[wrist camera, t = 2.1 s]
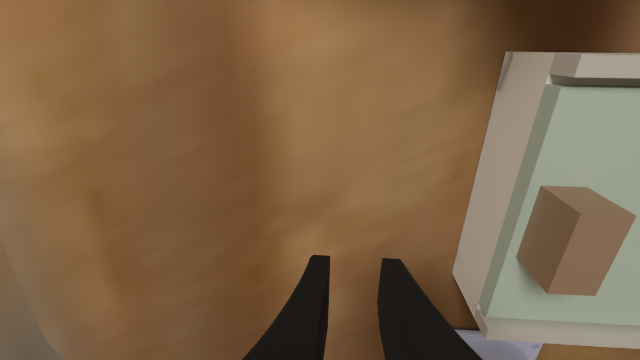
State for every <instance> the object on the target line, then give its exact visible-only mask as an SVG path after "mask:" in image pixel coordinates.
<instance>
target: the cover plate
mask: <svg viewBox="0 0 640 360" xmlns="http://www.w3.org/2000/svg"><path fill="white" fill-rule="evenodd" d="M479 305H480V307H481V309H482V311H483V313H484V314H485V316H486V317H492V318H510V319H528V320H545V321H563V322H581V323H599V324H616V325H634V326H640V85H582V84H546V85H545V88H544V91H543V94H542V98H541V101H540V104H539V107H538V111H537V114H536V117H535V121H534V124H533V127H532V130H531V134H530V137H529V140H528V143H527V147H526V150H525V153H524V156H523V160H522V163H521V166H520V170H519V173H518V176H517V179H516V183H515V186H514V189H513V192H512V196H511V199H510V202H509V205H508V209H507V212H506V215H505V219H504V222H503V225H502V228H501V232H500V235H499V238H498V241H497V245H496V248H495V251H494V254H493V258H492V261H491V264H490V268H489V271H488V274H487V277H486V281H485V284H484V287H483V290H482V294H481V297H480V300H479Z"/></svg>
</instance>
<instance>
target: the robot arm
mask: <svg viewBox="0 0 640 360" xmlns="http://www.w3.org/2000/svg"><path fill="white" fill-rule="evenodd" d="M329 276H330V256H324V255H313V256H311V257H310V259H309V262H308V265H307V267H306V269H305V271H304V274H303V275H302V277H301V279H300V281H299V283H298V285H297V286H296V288H295V290H294V292H293V293H292V295H291V297H290V298H289V300H288V301H287V303H286V304H285V306H284V307H283V309H282V310H281V312H280V313H279V315H278V316H277V318H276V319H275V320H274V322H273V323H272V324H271V326H270V327H269V328H268V330H267V331H266V332H265V333H264V335H263V336H262V337H261V338H260V340H259V341H258V342H257V343H256V344H255V346H254V347H253V348H252V349H251V350H250V351H249V352H248V354H247V355H246V356H245V357H244V358H243V359H242V360H323V358H324V350H325V343H326V335H327V328H328V307H329ZM377 305H378V317H379V327H380V333H381V339H382V344H383V349H384V354H385V359H386V360H536V357H537V355H538V353H539V351H540V349H541V347H542V344H543V343H533V342H516V341H499V340H485V339H484V337H483V335H482V333H481V331H474V330H457V329H453V328H452V326H451V325H450V324H449V323H448V322H447V321H446V320H445V318H444V317H443V316H442V315H441V314H440V312H439V311H438V310H437V309H436V307H435V306H434V305H433V304H432V302H431V301H430V300H429V299H428V297H427V296H426V295H425V293H424V292H423V291H422V289H421V288H420V287H419V285H418V284H417V283H416V281H415V280H414V278H413V277H412V276H411V274H410V273H409V271H408V270H407V268H406V267H405V265H404V264H403V262H402V261H401V260H400V259H387V258H382V265H381V273H380V282H379V290H378V299H377Z"/></svg>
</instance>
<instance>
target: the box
mask: <svg viewBox="0 0 640 360" xmlns="http://www.w3.org/2000/svg"><path fill="white" fill-rule="evenodd" d="M546 84H582V85H640V53H592V52H506V53H505V57H504V61H503V65H502V69H501V74H500V78H499V82H498V86H497V90H496V94H495V98H494V102H493V106H492V111H491V115H490V119H489V123H488V127H487V131H486V135H485V139H484V143H483V148H482V152H481V156H480V160H479V164H478V168H477V172H476V176H475V180H474V185H473V189H472V193H471V197H470V201H469V205H468V209H467V213H466V217H465V222H464V226H463V230H462V234H461V238H460V242H459V246H458V250H457V254H456V259H455V263H454V267H453V271H452V274H453V276H454V278H455V280H456V282H457V284H458V286H459V288H460V290H461V292H462V294H463V296H464V298H465V300H466V302H467V304H468V306H469V308H470V310H471V312H472V315H473V317H474V319H475V321H476V323H477V325H478V327H479V329H480V331H481V333H482V335H483V337H484V339H485V340H499V341H516V342H533V343H549V344H566V345H582V346H599V347H616V348H632V349H640V326H634V325H616V324H599V323H581V322H563V321H545V320H528V319H510V318H492V317H486V316H485V314H484V313H483V311H482V309H481V307H480V305H479V300H480V297H481V294H482V290H483V287H484V284H485V281H486V277H487V274H488V271H489V268H490V264H491V261H492V258H493V254H494V251H495V248H496V245H497V241H498V238H499V235H500V232H501V228H502V225H503V222H504V219H505V215H506V212H507V209H508V205H509V202H510V199H511V196H512V192H513V189H514V186H515V183H516V179H517V176H518V173H519V170H520V166H521V163H522V160H523V156H524V153H525V150H526V147H527V143H528V140H529V137H530V134H531V130H532V127H533V124H534V121H535V117H536V114H537V111H538V107H539V104H540V101H541V98H542V94H543V91H544V88H545V85H546Z"/></svg>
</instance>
